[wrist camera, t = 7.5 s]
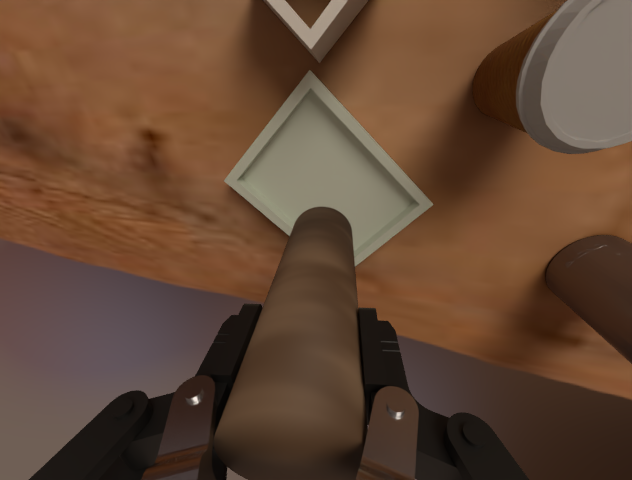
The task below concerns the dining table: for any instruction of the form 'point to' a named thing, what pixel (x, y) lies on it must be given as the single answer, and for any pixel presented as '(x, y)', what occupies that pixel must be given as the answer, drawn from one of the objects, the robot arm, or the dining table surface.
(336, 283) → the walnut dowel
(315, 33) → the ceramic holder
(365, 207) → the sage tray
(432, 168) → the dining table surface
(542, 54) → the disposable coffee cup
